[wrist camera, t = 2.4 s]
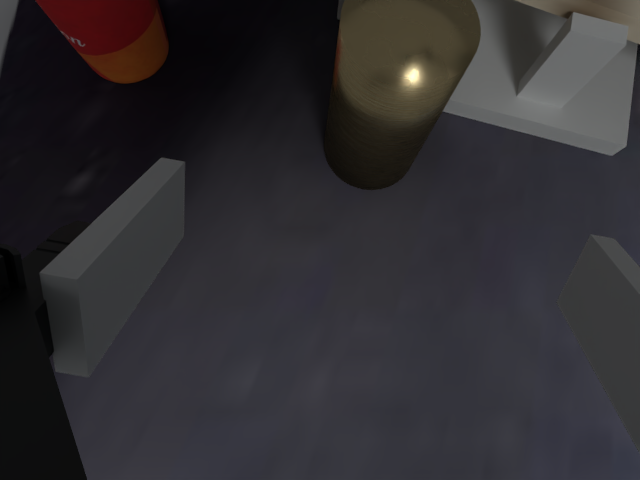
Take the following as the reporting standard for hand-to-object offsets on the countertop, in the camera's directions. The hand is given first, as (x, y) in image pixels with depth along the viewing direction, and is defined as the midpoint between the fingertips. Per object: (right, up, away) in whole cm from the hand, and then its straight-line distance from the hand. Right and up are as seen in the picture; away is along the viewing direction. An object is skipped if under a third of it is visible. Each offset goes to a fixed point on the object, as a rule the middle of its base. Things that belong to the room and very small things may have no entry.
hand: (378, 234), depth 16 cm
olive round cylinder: (+1, +6, +16) cm, 17 cm away
